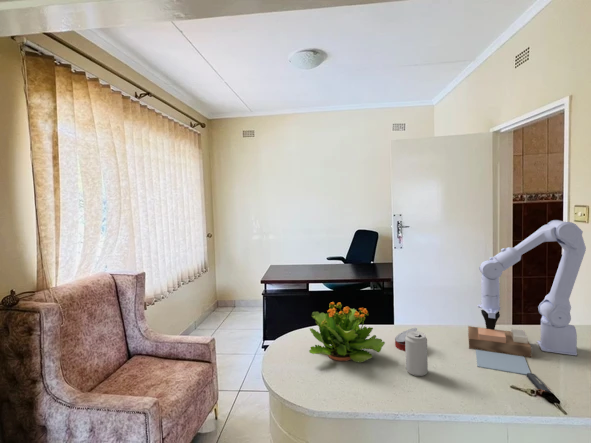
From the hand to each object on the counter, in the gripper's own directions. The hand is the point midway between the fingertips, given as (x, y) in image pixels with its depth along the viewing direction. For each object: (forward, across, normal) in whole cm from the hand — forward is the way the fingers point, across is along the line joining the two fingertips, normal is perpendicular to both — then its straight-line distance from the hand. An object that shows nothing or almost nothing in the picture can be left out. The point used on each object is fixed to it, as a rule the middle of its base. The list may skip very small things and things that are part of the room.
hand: (490, 331), depth 119 cm
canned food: (+5, +14, -27) cm, 30 cm away
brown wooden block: (+4, +1, +2) cm, 5 cm away
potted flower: (+5, +28, -48) cm, 56 cm away
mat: (+4, +14, +2) cm, 15 cm away
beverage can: (+5, +30, -22) cm, 38 cm away
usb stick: (+5, +25, +10) cm, 27 cm away
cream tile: (+1, +1, +8) cm, 9 cm away
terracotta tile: (+1, +4, 0) cm, 4 cm away
